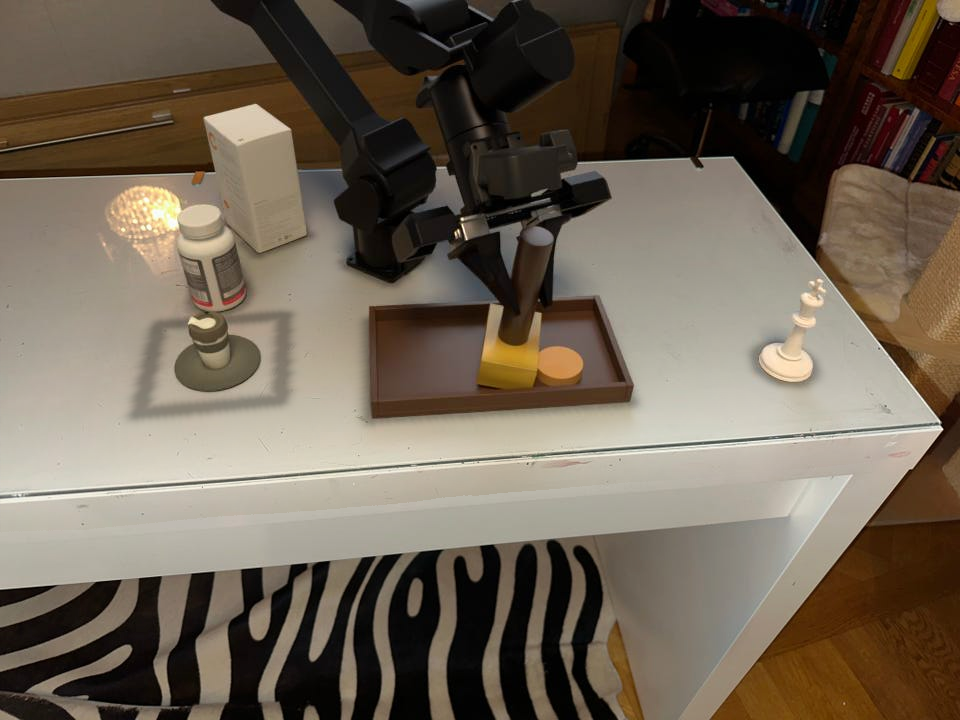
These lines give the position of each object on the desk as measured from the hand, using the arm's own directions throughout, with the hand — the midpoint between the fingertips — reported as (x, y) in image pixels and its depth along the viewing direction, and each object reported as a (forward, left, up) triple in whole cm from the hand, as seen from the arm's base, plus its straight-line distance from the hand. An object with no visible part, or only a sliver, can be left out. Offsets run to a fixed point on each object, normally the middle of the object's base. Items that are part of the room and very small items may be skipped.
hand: (532, 312), depth 64 cm
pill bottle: (-32, -7, -8) cm, 34 cm away
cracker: (+2, +2, -7) cm, 8 cm away
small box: (-37, +5, -8) cm, 39 cm away
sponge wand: (-2, +1, -7) cm, 8 cm away
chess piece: (+20, +16, -8) cm, 27 cm away
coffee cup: (-25, -14, -8) cm, 30 cm away
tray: (-4, +1, -8) cm, 9 cm away
